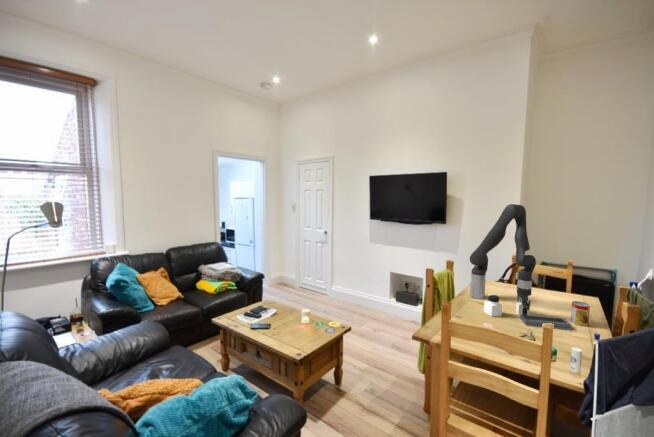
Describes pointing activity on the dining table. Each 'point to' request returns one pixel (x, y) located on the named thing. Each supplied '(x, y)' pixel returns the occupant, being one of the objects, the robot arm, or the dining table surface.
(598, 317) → the dining table surface
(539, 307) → the dining table surface
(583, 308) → the canned food
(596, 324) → the dining table surface
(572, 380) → the dining table surface
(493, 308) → the medicine bottle
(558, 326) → the grey rectangular tray
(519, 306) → the block
